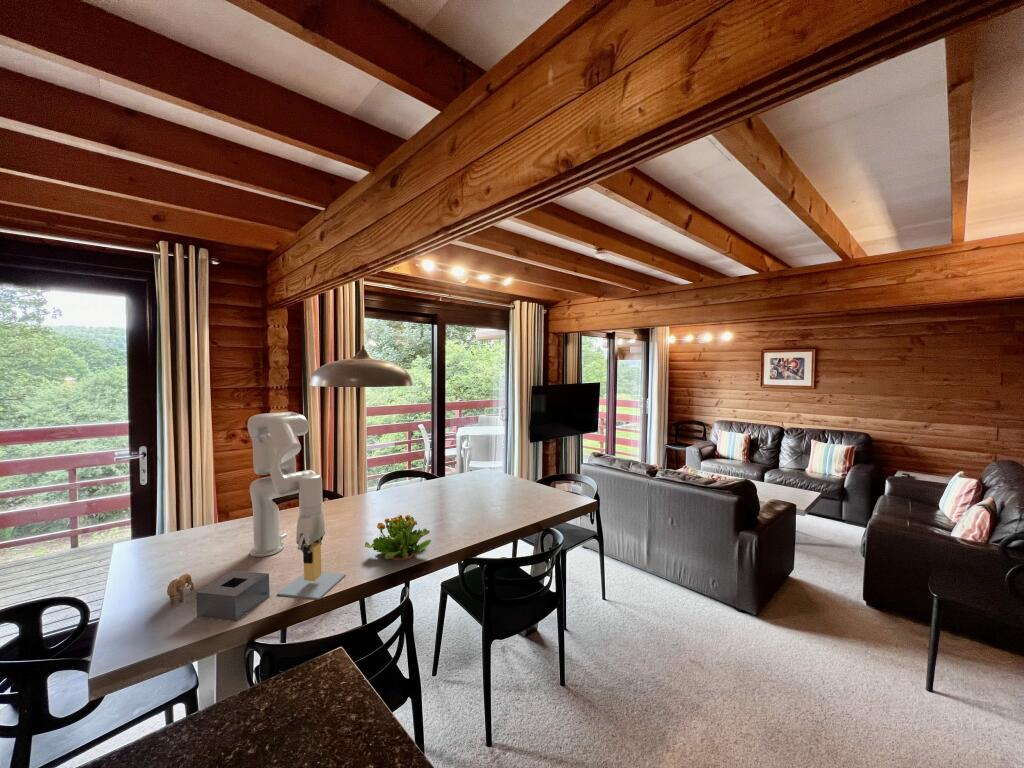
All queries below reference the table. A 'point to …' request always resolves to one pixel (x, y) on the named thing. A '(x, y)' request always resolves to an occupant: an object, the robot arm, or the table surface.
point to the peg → (313, 564)
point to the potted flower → (399, 539)
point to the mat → (311, 586)
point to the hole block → (232, 595)
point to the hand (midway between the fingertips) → (312, 559)
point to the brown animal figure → (179, 587)
